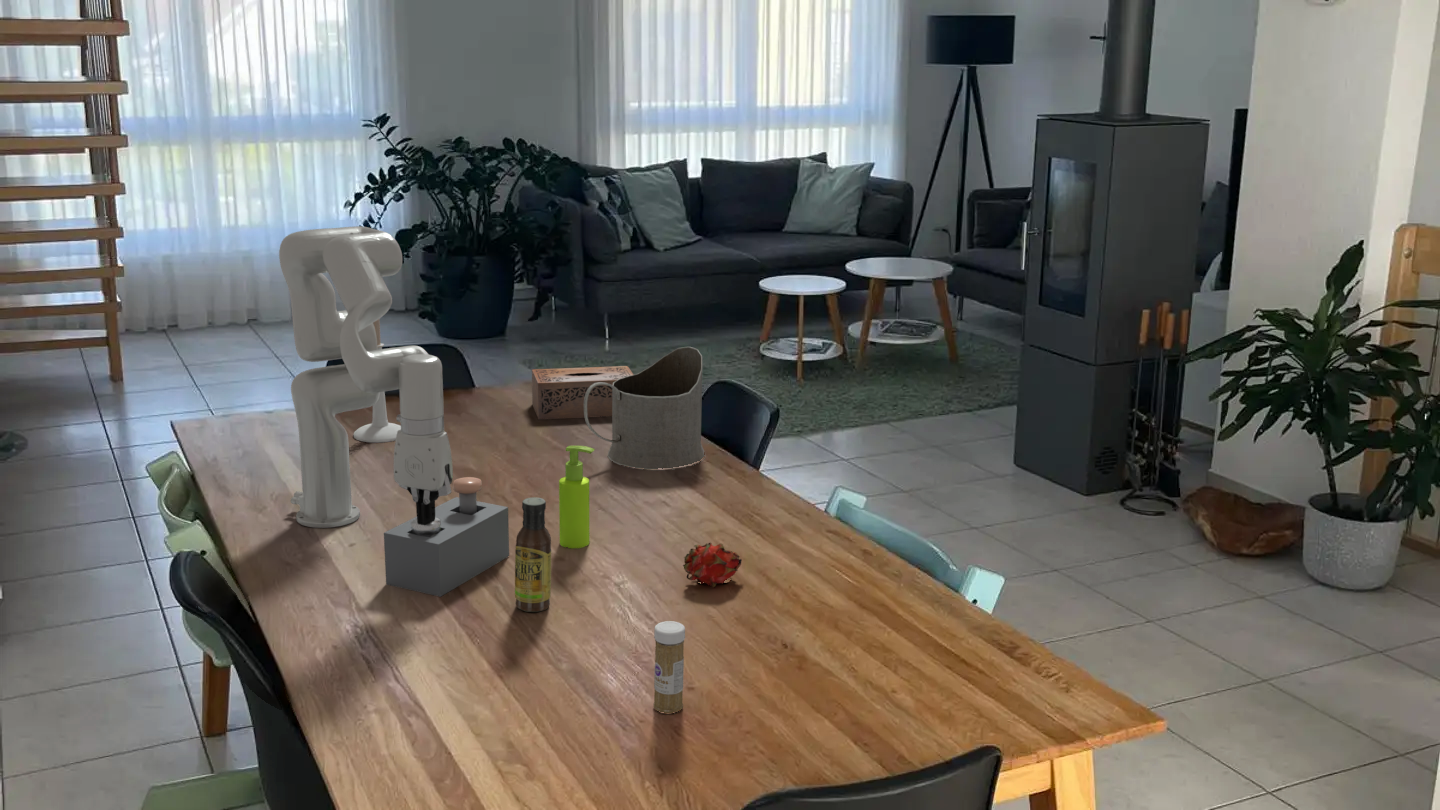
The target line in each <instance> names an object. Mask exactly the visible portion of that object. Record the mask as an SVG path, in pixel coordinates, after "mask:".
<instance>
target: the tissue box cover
mask: <svg viewBox="0 0 1440 810" xmlns="http://www.w3.org/2000/svg"><path fill="white" fill-rule="evenodd" d="M631 375H635V374H634V373H633V372H632V370H631V369H630V367H629V366H627V365H620V366H619V365H618V366H614V365H613V366H592V367H589V366H588V367H566V368H565V367H563V368H536V369H531V390H532V391H531V396H532V397H531V398H532V400H531V401H532V403H531V404H532V408H533V409H534V412H535V414H536V416H537V417H536V418H537V420H538V421H539V420H555V419H561V420H562V419H578V418H579V419H581V418H583V419H585V417H584V397H585V394H586V392H587V390H588V388H589V387H590V386H591V385H592V384H594V383H598V382H604V383H608V384H611V385H613V382H615V381H616V380H618V379H621V378H624V377H627V376H631ZM587 414H588V418H598V417H599V418H601V417H602V416H606V417H612V387H610V386H608V385H597V386H595V387H594V388H593V389H592V390H591V391H590V393H589V396H588V400H587ZM600 416H601V417H600Z"/></svg>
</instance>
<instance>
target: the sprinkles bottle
mask: <svg viewBox="0 0 1440 810" xmlns="http://www.w3.org/2000/svg"><path fill="white" fill-rule="evenodd" d="M653 636H654V641H655V649H654V650H655V653H654V654H655V656H654V678H653V679H654V680H653V681H654V683H653V684H654V695H653V696H654V702H653V709H654V708H655V709H656V710H657V711H660V712H664V713H673V712H677V711H679V710H681V709H682V710H683V708H684V704H683V696H684V695H683V692H684V691H683V690H684V667H685V666H684V665H685V664H684V663H685V661H684V660H685V659H684V658H685V657H684V650H685V649H684V643H685V639H686V628H685V625H684V624H683V623H680V622H679V621H673V620H666V621H661V622H659V623H657V624H655V626H654V635H653ZM655 709H654V710H655ZM656 710H655V711H656ZM682 710H681V711H682ZM657 711H656V712H657ZM679 712H680V711H679ZM677 713H678V712H677Z"/></svg>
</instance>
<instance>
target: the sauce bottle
mask: <svg viewBox="0 0 1440 810" xmlns="http://www.w3.org/2000/svg"><path fill="white" fill-rule="evenodd" d="M521 503H522V504H521V505H522V506H521V509H522V513H523V514H522V518H523V519H522V522H521V523H522V527H521V528H520V530H519V531H518V532H517V535H516V541H515V544H516V545H515V556H514V559H515V560H514V597H515V607H516V608H518V609H519V610H521V611H523V612H528V613H539V612H543V611H545V610H548V608H549V607H550V605H551V600H550V599H551V595H552V593H551V592H552V591H551V590H552V588H551V587H552V585H551V583H552V538H551V534H550V532H549V530H548V529H547V527H546V522H545V521H546V520H545V519H546V518H545V517H546V516H545V513H546V512H545V511H546V509H547V508H546V507H547V502H546V500H545V499H544V498H541V497H534V496H532V497H526V498H525V499H523V500H522V502H521Z"/></svg>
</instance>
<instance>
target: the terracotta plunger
mask: <svg viewBox="0 0 1440 810" xmlns="http://www.w3.org/2000/svg"><path fill="white" fill-rule="evenodd" d="M452 484H453V485H452V486H453V491H454V492H455V493H458V496H459V497H458V498H459V506H460V513H463V514H468V515H473V514H475V513H477V501H478V500H477V493H479V492H480V491H482V488H483V487H482V479H480V478H478V477H473V476H472V477H471V476H467V477H466V476H465V477H459V478H456V479H454V480H453V481H452Z"/></svg>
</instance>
